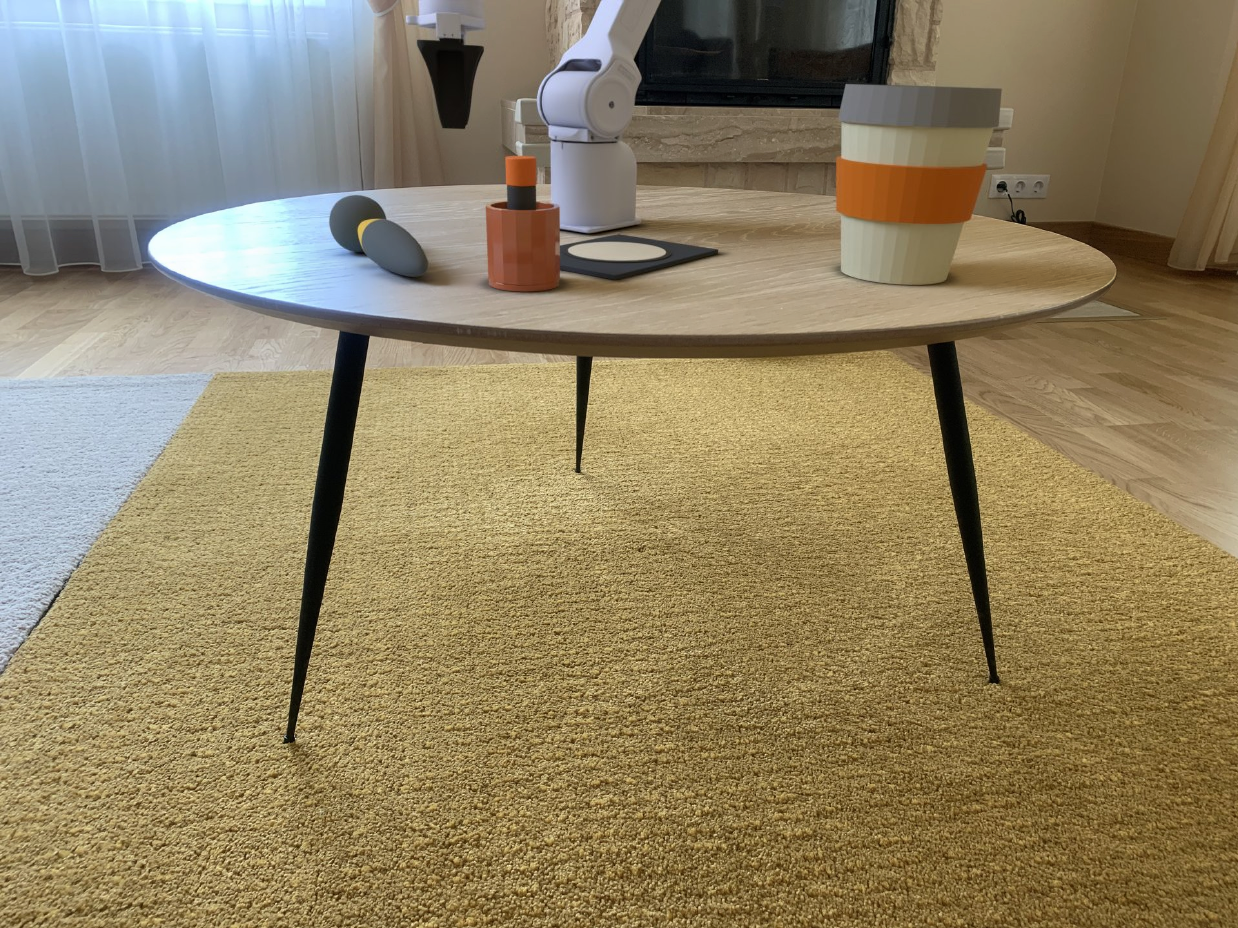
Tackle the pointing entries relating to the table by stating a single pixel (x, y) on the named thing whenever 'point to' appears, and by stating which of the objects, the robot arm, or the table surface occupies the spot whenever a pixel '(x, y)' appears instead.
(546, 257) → the pen pot
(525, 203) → the marker
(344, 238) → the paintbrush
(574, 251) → the dark grey rectangular pad
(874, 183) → the reusable coffee cup
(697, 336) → the table surface
